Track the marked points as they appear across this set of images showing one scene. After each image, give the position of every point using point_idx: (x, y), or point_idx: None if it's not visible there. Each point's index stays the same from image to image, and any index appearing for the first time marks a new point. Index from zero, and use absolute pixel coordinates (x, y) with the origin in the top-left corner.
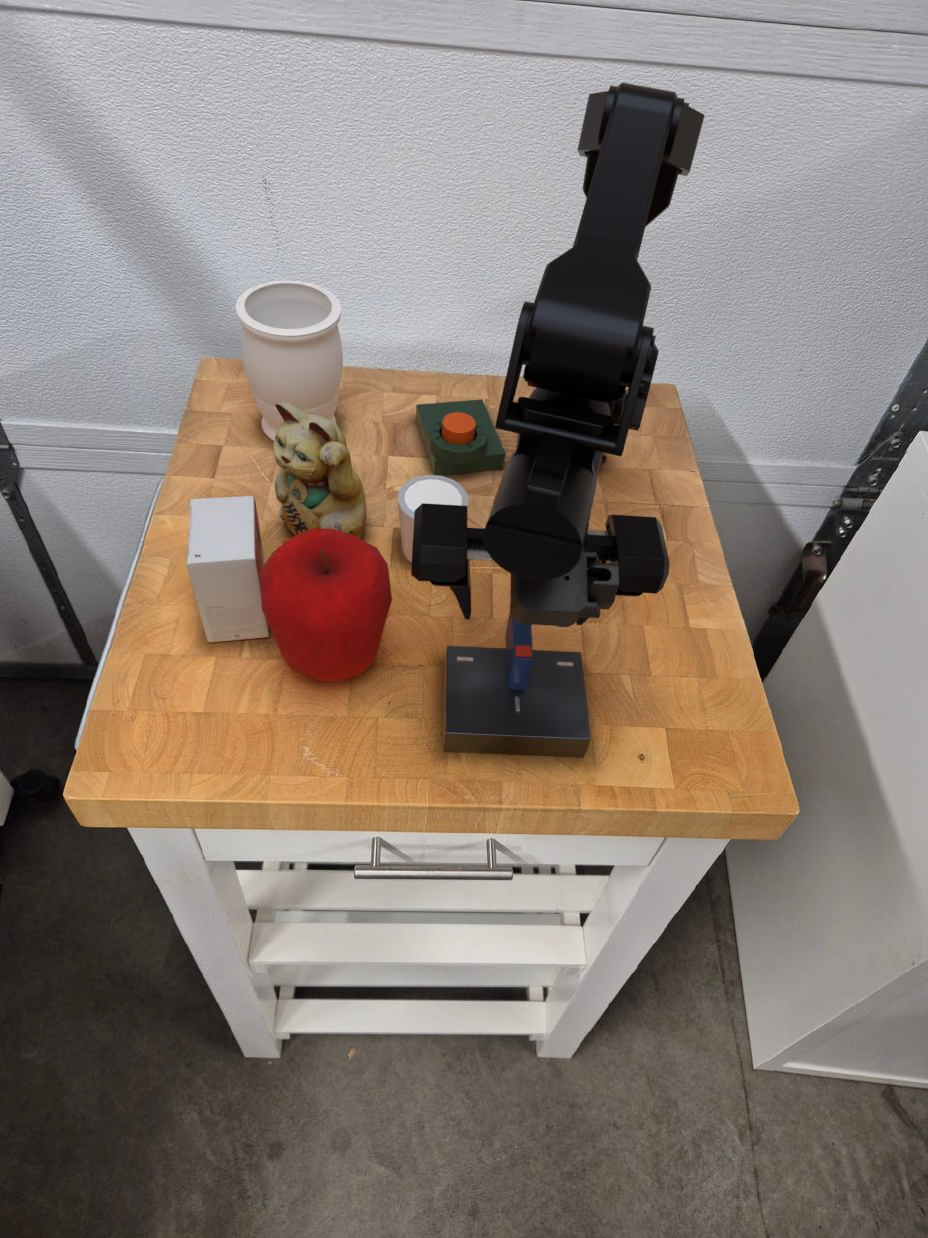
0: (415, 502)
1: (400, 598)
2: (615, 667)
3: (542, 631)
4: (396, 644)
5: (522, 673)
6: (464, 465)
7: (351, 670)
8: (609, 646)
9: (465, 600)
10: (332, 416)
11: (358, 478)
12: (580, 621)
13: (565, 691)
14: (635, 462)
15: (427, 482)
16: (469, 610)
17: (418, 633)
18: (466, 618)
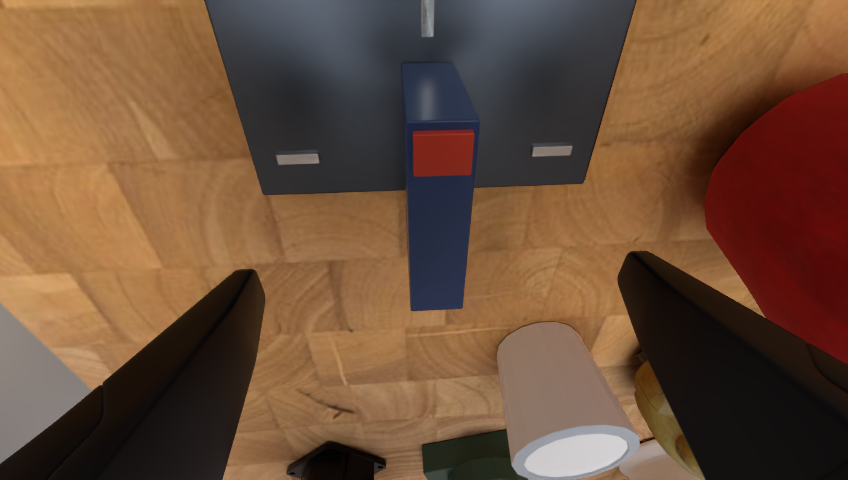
0: (609, 448)
1: (604, 272)
2: (193, 175)
3: (357, 238)
4: (640, 186)
5: (428, 89)
6: (475, 448)
7: (845, 92)
8: (218, 221)
9: (759, 337)
10: (626, 471)
11: (700, 470)
12: (235, 284)
13: (285, 70)
14: (248, 470)
15: (576, 471)
16: (679, 287)
17: (592, 212)
18: (647, 253)
